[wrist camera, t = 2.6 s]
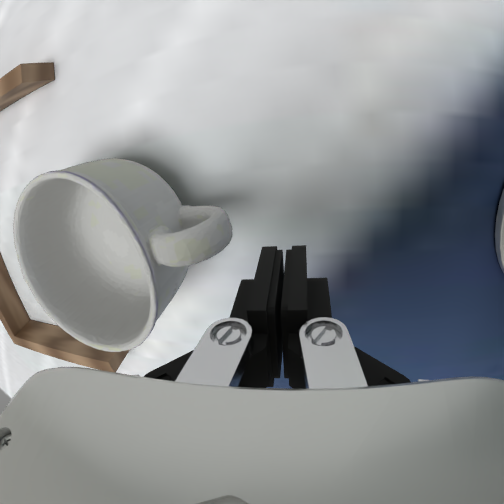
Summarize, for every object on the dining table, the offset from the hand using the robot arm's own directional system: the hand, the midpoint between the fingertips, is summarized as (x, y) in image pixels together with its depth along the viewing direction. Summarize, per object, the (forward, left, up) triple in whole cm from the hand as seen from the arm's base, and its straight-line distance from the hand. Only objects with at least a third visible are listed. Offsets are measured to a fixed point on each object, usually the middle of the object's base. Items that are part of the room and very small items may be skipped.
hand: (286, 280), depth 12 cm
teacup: (+10, 0, -8) cm, 13 cm away
